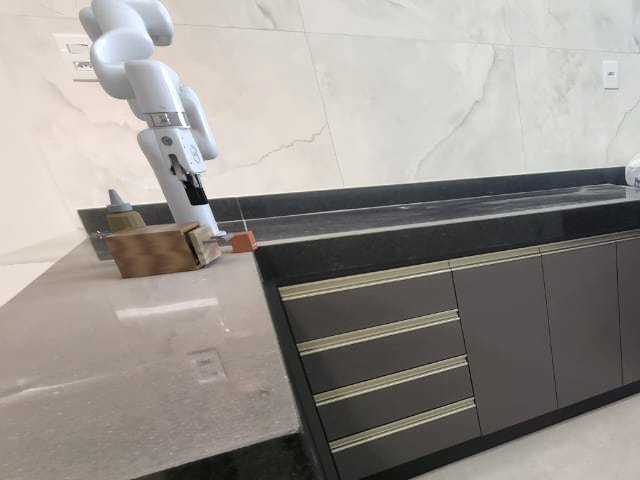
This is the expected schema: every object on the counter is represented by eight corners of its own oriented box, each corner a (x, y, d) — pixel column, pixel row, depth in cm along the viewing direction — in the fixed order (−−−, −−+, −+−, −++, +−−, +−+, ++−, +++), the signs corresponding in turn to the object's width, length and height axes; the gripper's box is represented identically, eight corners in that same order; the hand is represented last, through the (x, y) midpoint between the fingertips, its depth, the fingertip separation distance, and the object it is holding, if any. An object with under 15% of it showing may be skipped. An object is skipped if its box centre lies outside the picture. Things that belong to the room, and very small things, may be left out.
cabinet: (214, 258, 138) (199, 221, 134) (197, 269, 128) (180, 230, 124) (146, 265, 134) (128, 227, 130) (122, 278, 123) (102, 237, 119)
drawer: (243, 251, 140) (232, 222, 136) (230, 261, 130) (218, 229, 127) (159, 261, 134) (145, 230, 131) (139, 272, 124) (124, 239, 121)
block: (238, 249, 147) (232, 232, 145) (257, 247, 148) (252, 230, 146) (234, 252, 143) (227, 235, 141) (253, 250, 145) (247, 233, 143)
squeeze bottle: (139, 264, 136) (106, 191, 128) (115, 263, 137) (80, 192, 130) (170, 256, 143) (140, 186, 135) (146, 255, 144) (115, 187, 137)
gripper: (174, 121, 115) (208, 207, 123) (199, 121, 128) (227, 199, 135) (132, 123, 113) (169, 210, 120) (161, 123, 125) (193, 202, 133)
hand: (200, 204), depth 128 cm, fingers closed
